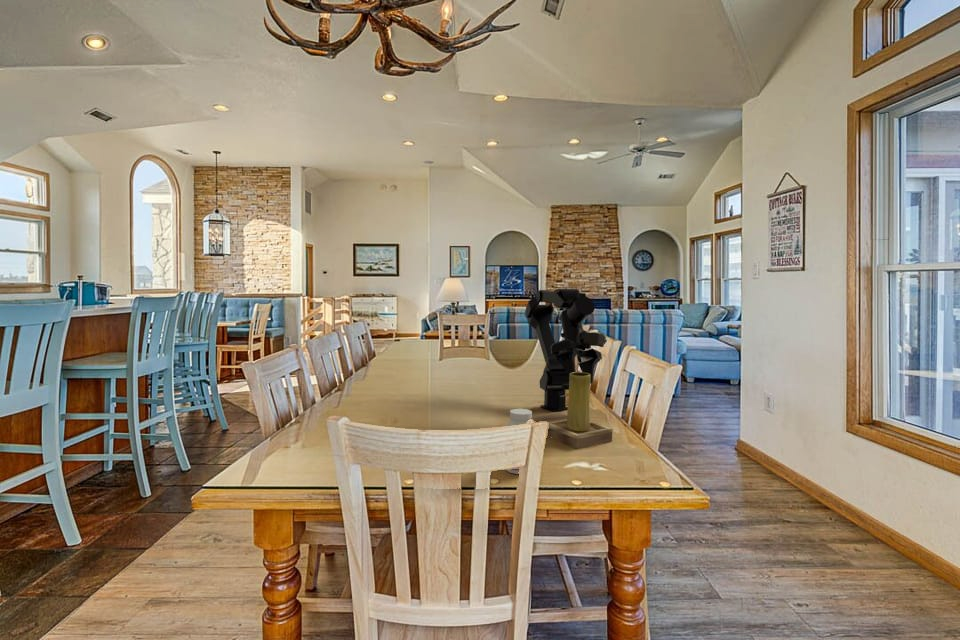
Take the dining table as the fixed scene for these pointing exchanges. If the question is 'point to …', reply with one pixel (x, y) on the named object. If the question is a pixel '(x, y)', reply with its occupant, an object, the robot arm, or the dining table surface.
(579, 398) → the vase
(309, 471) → the dining table surface
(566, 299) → the robot arm
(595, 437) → the wooden tray
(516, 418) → the supplement bottle
